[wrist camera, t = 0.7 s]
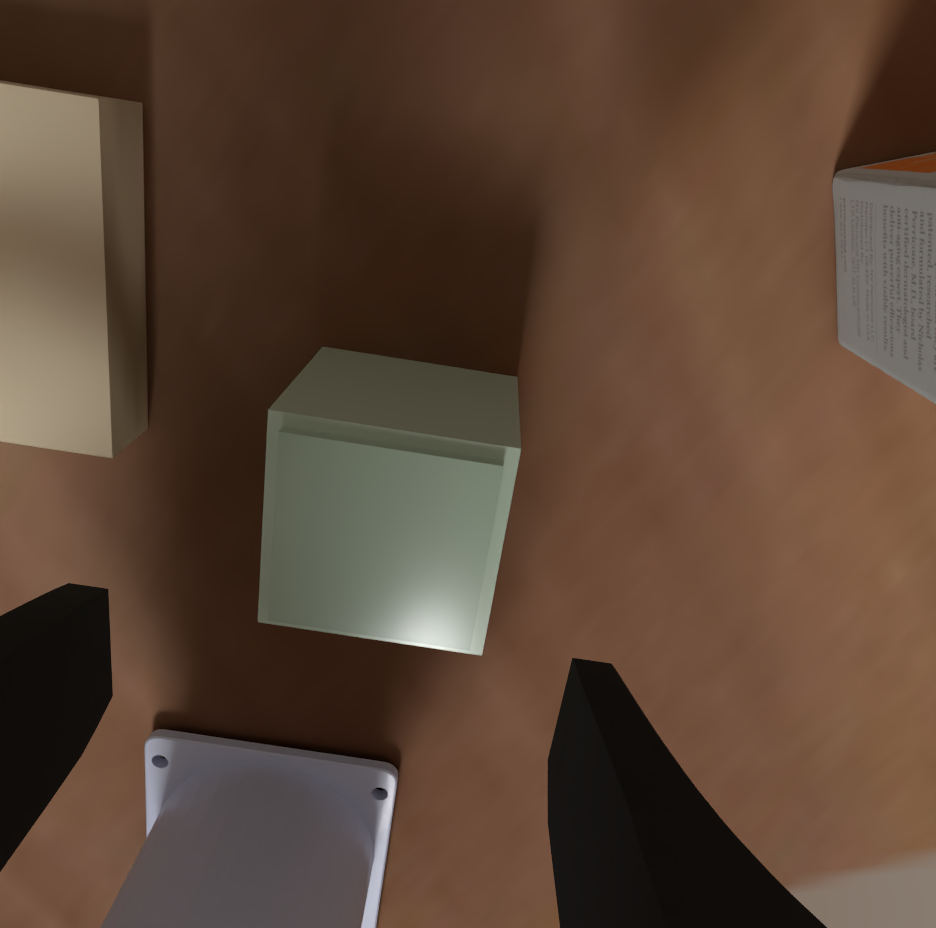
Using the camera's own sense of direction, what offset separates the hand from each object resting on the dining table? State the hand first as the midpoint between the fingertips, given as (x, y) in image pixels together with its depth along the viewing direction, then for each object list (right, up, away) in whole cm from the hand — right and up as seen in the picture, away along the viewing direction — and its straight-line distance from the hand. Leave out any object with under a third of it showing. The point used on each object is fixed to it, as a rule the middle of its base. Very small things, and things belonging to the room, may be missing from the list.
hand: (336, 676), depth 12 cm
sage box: (0, +4, +9) cm, 10 cm away
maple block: (-10, +9, +8) cm, 15 cm away
